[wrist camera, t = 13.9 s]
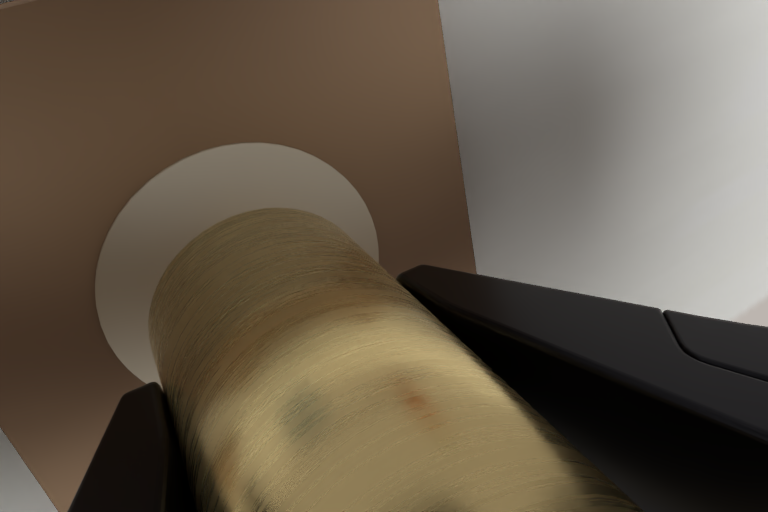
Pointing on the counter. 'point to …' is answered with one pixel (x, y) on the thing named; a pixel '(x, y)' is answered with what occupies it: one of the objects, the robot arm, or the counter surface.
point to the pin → (341, 387)
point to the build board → (194, 174)
